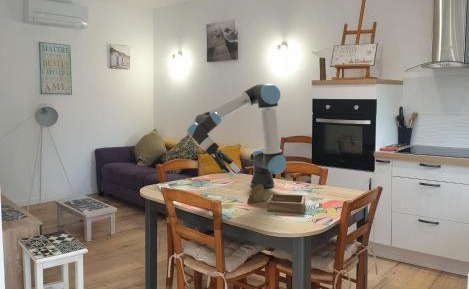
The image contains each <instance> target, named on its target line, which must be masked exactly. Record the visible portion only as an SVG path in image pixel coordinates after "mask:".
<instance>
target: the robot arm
mask: <svg viewBox="0 0 469 289" xmlns="http://www.w3.org/2000/svg"><path fill="white" fill-rule="evenodd" d="M280 99H281V91H280V89H279V87H278V86H276V85H274V84H271V83H263V84H256V85H253V86H251V87H250V88H248V89H246V90H244V91H242V92H241V94H240V95H238V96H236V97H234V98H231V99H229V100H228V101H226V102H224V103H221V104H220V105H218V106H216V107H214V108H212V109H209V110H207V111H206V112H204V113H200V114H197V115H196V116H195V117H194V122H193V123H192V124H191V125H190V126H188V128H187V130H186V132H187V133H188V135H189V136H190V137H191V138H192V139H193V141H195V142H196V144H198V146H200V149H202V150H203V151H205V153H206V154H207V155H208V156H209V157H210V156H211V157H212V159H213V160H214V161H215V163H216V164H217V166H218V167H219V168H220V170H221V171H224V172H225V174H227V175H228V176H229V177H230V179H233V178H234V177H235V176H236V174H238V173H239V172H240V171H241V169H240V168H239V167H238V166H237V165H236V164H235V163H234V160H233V159H232V158H230V157H229V156H228V155H227V154H226V153H224V152H223V151H222V150H221V149H219V148H220V145H218V143H216V142H215V140H214V139H213V138H212V137H211V136H209V133H211V132H212V131H213V130H214V129H215V128H216V127H217V126H219V125H220V124H221V122H222V119H223V118H226V117H227V116H230V115H232V114H233V113H235V112H237V111H239V110H242V109H244V108H245V107H250V106H253V105H255V104H257V105H258V106H257V108H258V110H260V111H261V121H262V132H263V140H264V142H263V143H264V149H261V150H254V151H253V158H252V160H253V168H252V169H253V175H252V177H251V180H250V187H252V188H254V187H255V186H257V185H259V184H263V188H264V189H267V188H269V189H270V188H273V187H275V179H274V178H273V174H274V175H279V174H281V173H283V172H284V170H285V169H286V167H287V160H286V157H284V156H283V150H282V149H281V148H280V141H279V133H278V132H279V131H278V130H279V129H278V121H277V119H278V118H277V111H276V110H277V108H278V106H279V104H278V103H279V101H280ZM226 164H227V165H226ZM228 165H229V166H228Z"/></svg>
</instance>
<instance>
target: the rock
mask: <svg viewBox="0 0 469 289" xmlns="http://www.w3.org/2000/svg"><path fill="white" fill-rule="evenodd" d="M252 188H253V189H252V190H251V192H250V194H249V196H248V199H247V203H249V204H252V203H259V202H264V201H265V200H264V189H265V188H263V184H259V185H257V186H255V187H252Z"/></svg>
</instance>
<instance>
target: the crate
mask: <svg viewBox="0 0 469 289" xmlns="http://www.w3.org/2000/svg"><path fill="white" fill-rule="evenodd" d="M305 207H306V194H290V193H289V194H286V193H271V194H270V196H269V198H268V199H267V201H266V212H269V213H286V214H287V213H288V214H304V211H305Z"/></svg>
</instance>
